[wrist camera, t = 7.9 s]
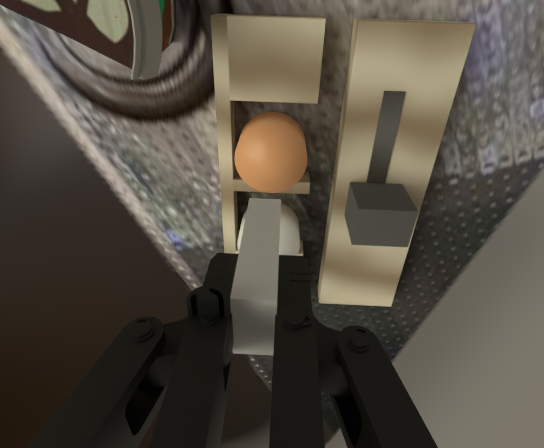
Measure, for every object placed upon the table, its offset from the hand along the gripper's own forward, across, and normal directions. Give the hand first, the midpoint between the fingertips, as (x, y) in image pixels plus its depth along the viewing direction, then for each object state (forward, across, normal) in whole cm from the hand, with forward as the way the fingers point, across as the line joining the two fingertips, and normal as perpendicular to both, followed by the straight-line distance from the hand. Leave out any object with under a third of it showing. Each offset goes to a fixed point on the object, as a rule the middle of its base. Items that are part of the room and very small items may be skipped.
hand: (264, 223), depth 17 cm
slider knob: (+10, +8, -4) cm, 14 cm away
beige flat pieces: (+12, +4, -4) cm, 13 cm away
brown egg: (+10, 0, 0) cm, 10 cm away
